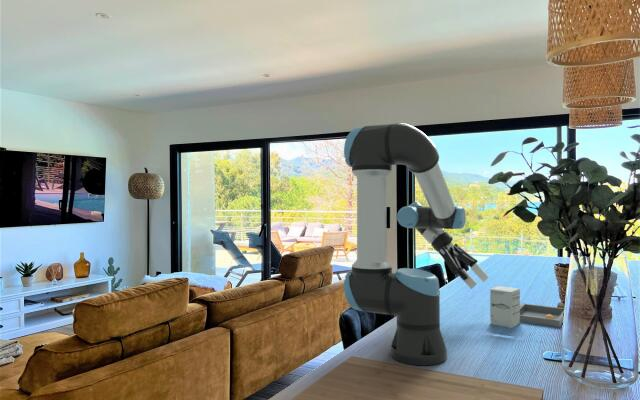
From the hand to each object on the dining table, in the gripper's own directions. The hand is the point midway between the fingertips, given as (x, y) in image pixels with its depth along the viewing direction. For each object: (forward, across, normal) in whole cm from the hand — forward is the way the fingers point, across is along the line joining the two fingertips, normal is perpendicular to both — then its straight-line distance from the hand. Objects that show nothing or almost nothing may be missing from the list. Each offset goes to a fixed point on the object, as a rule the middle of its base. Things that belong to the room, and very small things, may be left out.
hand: (480, 282), depth 156 cm
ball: (+23, +8, -5) cm, 25 cm away
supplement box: (+15, 0, +4) cm, 16 cm away
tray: (+21, +14, -2) cm, 25 cm away
